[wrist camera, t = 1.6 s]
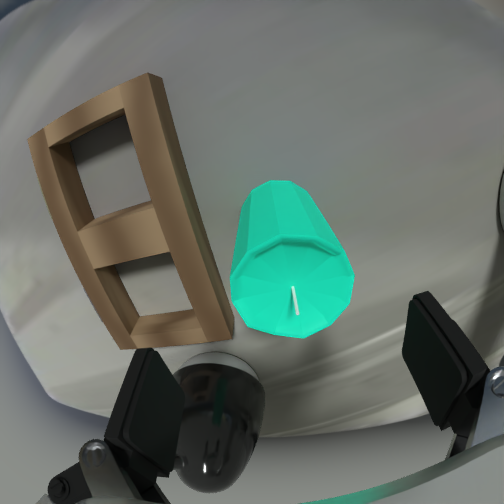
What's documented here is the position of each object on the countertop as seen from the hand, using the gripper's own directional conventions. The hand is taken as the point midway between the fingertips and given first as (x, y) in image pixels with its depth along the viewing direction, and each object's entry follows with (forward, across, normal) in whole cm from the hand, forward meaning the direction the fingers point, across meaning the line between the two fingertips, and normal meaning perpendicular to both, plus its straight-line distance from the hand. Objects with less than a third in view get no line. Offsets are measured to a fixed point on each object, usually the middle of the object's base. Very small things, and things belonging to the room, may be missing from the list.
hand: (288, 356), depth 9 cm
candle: (+14, -1, 0) cm, 15 cm away
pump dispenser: (+15, +9, +16) cm, 24 cm away
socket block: (+15, +11, -2) cm, 18 cm away
